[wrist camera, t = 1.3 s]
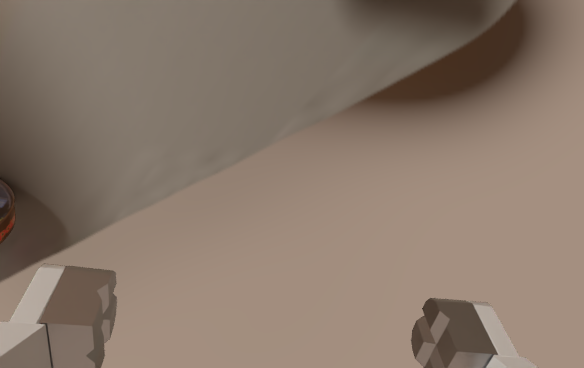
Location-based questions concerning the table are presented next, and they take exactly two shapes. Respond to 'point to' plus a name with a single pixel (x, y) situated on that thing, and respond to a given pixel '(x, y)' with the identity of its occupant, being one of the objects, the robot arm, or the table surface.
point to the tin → (6, 210)
